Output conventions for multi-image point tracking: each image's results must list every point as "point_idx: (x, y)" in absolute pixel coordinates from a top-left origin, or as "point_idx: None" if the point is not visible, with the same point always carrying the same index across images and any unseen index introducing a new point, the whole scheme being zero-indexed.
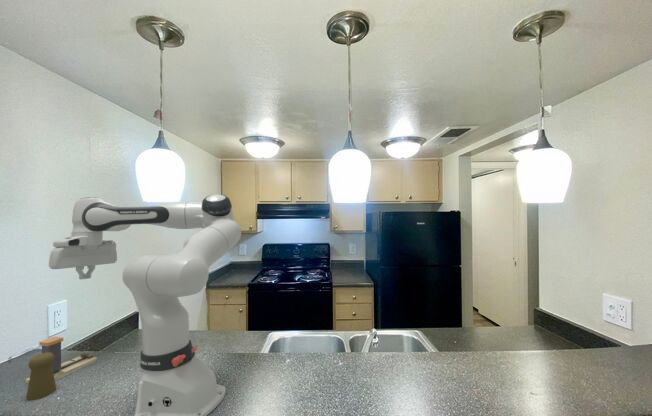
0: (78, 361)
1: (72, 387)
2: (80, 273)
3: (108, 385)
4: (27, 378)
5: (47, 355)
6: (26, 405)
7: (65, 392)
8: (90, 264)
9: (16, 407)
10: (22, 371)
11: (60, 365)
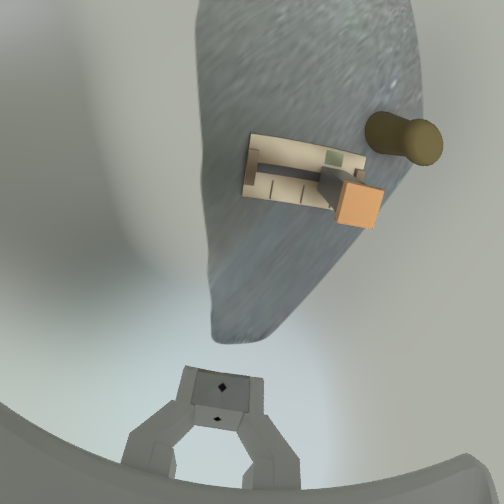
0: (277, 164)
1: (364, 85)
2: (270, 430)
3: (350, 15)
4: None
5: (429, 128)
6: None
7: (379, 85)
8: (191, 495)
9: None
10: (302, 270)
11: (325, 168)
